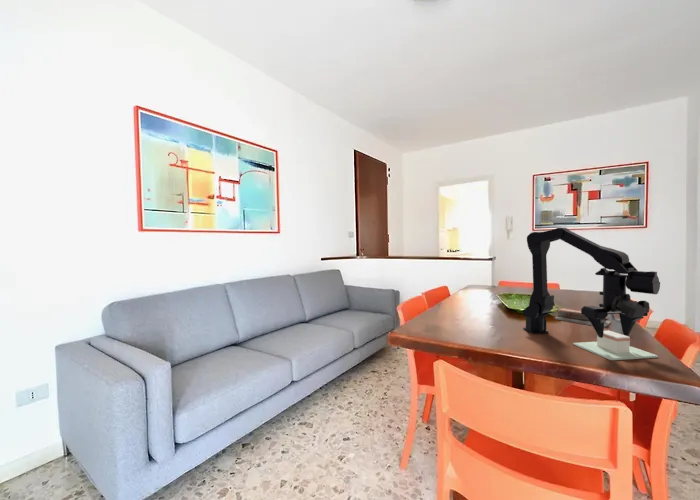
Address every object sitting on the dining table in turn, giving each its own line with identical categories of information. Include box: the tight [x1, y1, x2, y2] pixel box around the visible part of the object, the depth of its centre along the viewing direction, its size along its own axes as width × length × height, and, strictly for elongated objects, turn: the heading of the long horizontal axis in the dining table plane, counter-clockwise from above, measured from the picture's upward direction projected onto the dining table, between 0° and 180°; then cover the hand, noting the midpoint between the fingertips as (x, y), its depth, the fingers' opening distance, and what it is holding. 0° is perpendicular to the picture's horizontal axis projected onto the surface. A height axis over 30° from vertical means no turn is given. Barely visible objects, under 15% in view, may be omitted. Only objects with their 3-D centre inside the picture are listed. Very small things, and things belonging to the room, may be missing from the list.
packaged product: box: [555, 307, 611, 329], centre depth 136 cm, size 18×5×10 cm
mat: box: [572, 341, 659, 361], centre depth 101 cm, size 16×14×1 cm
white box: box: [596, 329, 631, 353], centre depth 101 cm, size 7×5×5 cm, turn 6°
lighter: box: [607, 314, 624, 335], centre depth 121 cm, size 7×2×8 cm, turn 1°
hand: (613, 336), depth 101 cm, fingers open, 9 cm apart
